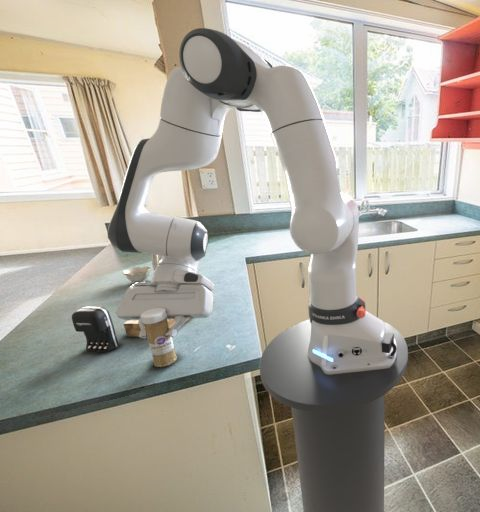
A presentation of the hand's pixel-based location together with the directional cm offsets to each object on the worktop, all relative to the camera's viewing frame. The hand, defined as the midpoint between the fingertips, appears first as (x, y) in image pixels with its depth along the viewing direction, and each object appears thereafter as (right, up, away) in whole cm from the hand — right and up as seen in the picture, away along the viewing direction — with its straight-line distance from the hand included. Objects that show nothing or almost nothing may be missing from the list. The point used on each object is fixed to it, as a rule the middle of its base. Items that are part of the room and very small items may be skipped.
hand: (157, 337), depth 68 cm
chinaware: (-35, +8, +49) cm, 60 cm away
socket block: (-12, 0, +22) cm, 25 cm away
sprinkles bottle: (0, -7, +3) cm, 7 cm away
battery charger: (-20, -5, +7) cm, 22 cm away
